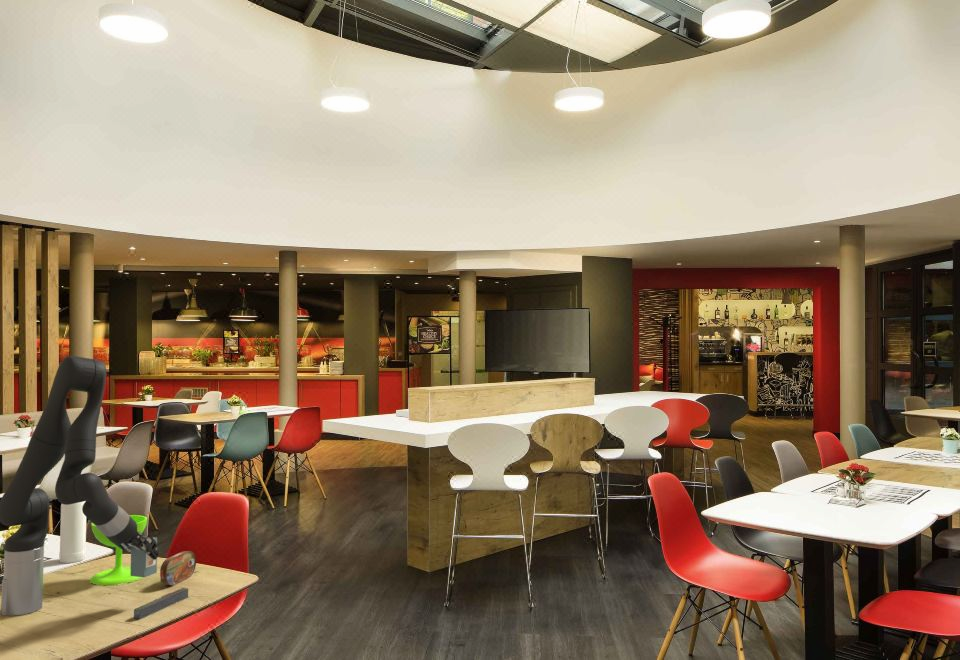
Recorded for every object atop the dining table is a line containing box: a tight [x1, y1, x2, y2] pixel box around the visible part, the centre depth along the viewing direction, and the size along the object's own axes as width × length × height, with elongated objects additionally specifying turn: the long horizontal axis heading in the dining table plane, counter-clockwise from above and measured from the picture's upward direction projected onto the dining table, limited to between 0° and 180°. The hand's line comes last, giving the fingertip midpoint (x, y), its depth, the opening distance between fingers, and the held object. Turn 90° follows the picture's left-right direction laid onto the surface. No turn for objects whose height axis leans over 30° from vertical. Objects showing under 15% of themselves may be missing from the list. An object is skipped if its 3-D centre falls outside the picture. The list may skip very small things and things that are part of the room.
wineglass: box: [89, 514, 148, 586], centre depth 217 cm, size 16×16×18 cm
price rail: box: [133, 587, 189, 620], centre depth 191 cm, size 18×3×2 cm, turn 161°
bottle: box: [59, 501, 87, 564], centre depth 236 cm, size 8×8×30 cm
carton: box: [130, 535, 158, 578], centre depth 194 cm, size 5×4×10 cm
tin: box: [159, 550, 197, 586], centre depth 214 cm, size 15×3×8 cm, turn 168°
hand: (148, 555), depth 196 cm, fingers closed on carton, 5 cm apart
